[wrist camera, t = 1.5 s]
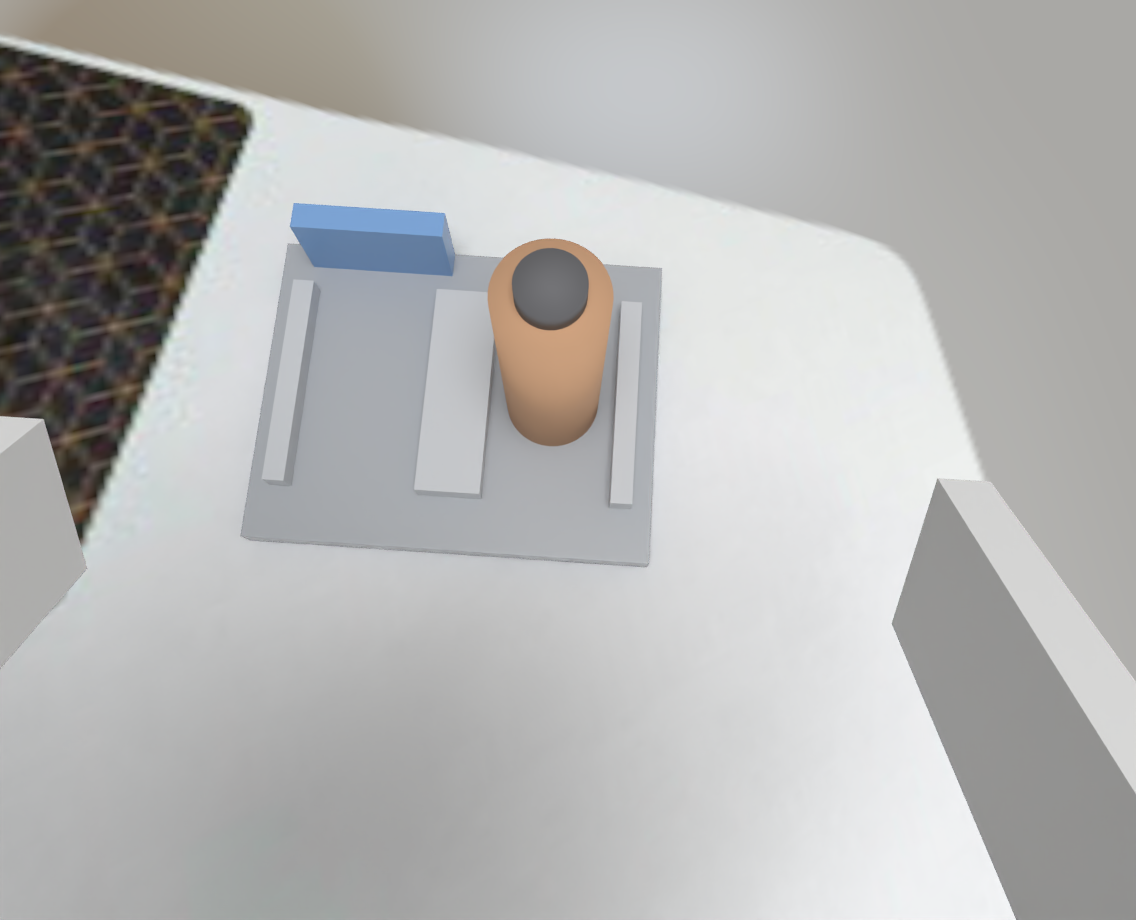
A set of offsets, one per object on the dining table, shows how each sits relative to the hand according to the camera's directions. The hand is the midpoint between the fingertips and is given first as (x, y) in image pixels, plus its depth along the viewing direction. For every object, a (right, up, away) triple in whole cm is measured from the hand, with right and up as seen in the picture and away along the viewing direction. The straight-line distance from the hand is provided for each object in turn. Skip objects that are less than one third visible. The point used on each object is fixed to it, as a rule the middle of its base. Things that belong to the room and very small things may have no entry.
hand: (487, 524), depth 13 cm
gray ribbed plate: (-4, +4, +30) cm, 30 cm away
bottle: (0, +4, +28) cm, 29 cm away
